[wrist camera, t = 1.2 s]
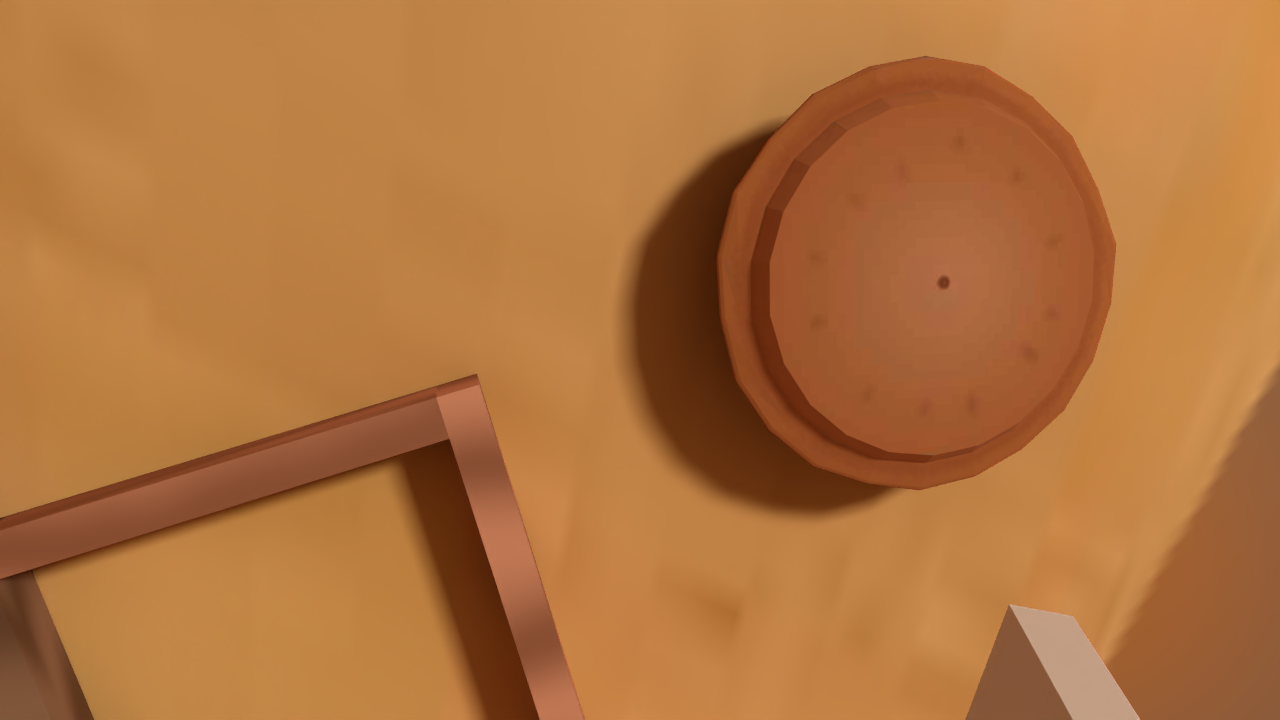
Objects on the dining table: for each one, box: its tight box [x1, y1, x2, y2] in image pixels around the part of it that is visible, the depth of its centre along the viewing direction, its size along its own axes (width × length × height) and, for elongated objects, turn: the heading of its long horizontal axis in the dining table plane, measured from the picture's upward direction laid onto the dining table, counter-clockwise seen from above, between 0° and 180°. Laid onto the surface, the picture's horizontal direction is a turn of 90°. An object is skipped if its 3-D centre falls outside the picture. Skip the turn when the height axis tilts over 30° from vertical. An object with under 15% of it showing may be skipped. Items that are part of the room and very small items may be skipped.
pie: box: [716, 56, 1116, 490], centre depth 35 cm, size 16×16×5 cm
